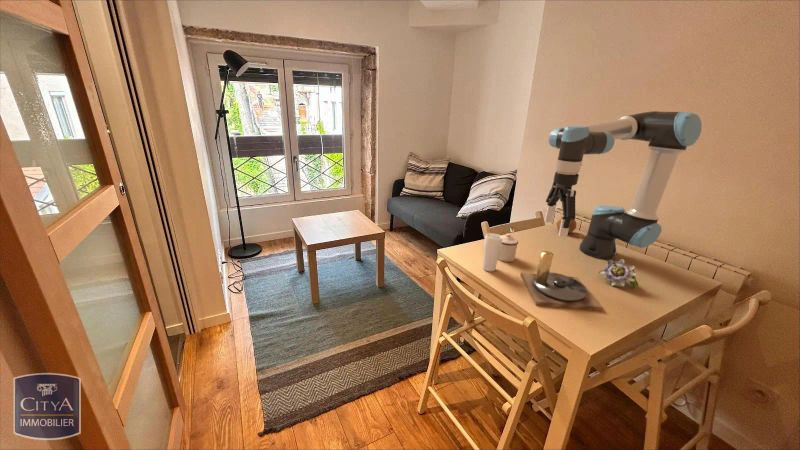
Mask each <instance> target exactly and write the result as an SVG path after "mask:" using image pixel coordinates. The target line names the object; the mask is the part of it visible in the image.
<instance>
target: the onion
mask: <svg viewBox="0 0 800 450" xmlns="http://www.w3.org/2000/svg"><path fill="white" fill-rule="evenodd" d="M562 217H564V216H563V215H562V216H561V217H559V218H558V219H557V221H556V229H557V230H558V231H559V230H560V225H561V221H562ZM576 229H577V221H576V219H575V220H571V221H570V226H569V230H568V234H570V233H572V232H575V230H576Z"/></svg>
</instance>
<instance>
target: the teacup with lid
mask: <svg viewBox="0 0 800 450" xmlns="http://www.w3.org/2000/svg"><path fill="white" fill-rule="evenodd" d="M501 236H502V245H501V249H500V253H499V257H498V260H497V261H501V262H505V263H506V262H507V263H510V262H511V263H512V262H513V261H514V260H515V258H516V254H517V252H516V251H517V247H518V244H519V240H518V239H517V238H516V237H513V236H512V235H511V233H506V234H504V235H501Z"/></svg>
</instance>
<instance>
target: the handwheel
mask: <svg viewBox="0 0 800 450" xmlns="http://www.w3.org/2000/svg"><path fill="white" fill-rule="evenodd" d="M553 258H554V252H552V251H548V250H543V251H541V252H540V256H539V262H538V267H537V270H536V273H535V274H536V275H535V276H534V278H533V285H534V287H535V288H536V289H537V290H538V291H539V292H541V293H542V294H544V295H546V296H548V297H550V298H553V299H556V300H560V301H565V302H578V301H581V300H583V299H584V298H585V297H586V294H587V290H586V288H587V287H586V286H585V285H584V284H583V285H584V286H585V287H586V288H585V287H584V286H583V285H582V284H581V283H580V282H578V281H577V280H575V279H573V278H571V277H572V276H569V275H565V274H561V273H558V272H551V266H552V263H553ZM568 276H569V277H568Z"/></svg>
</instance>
